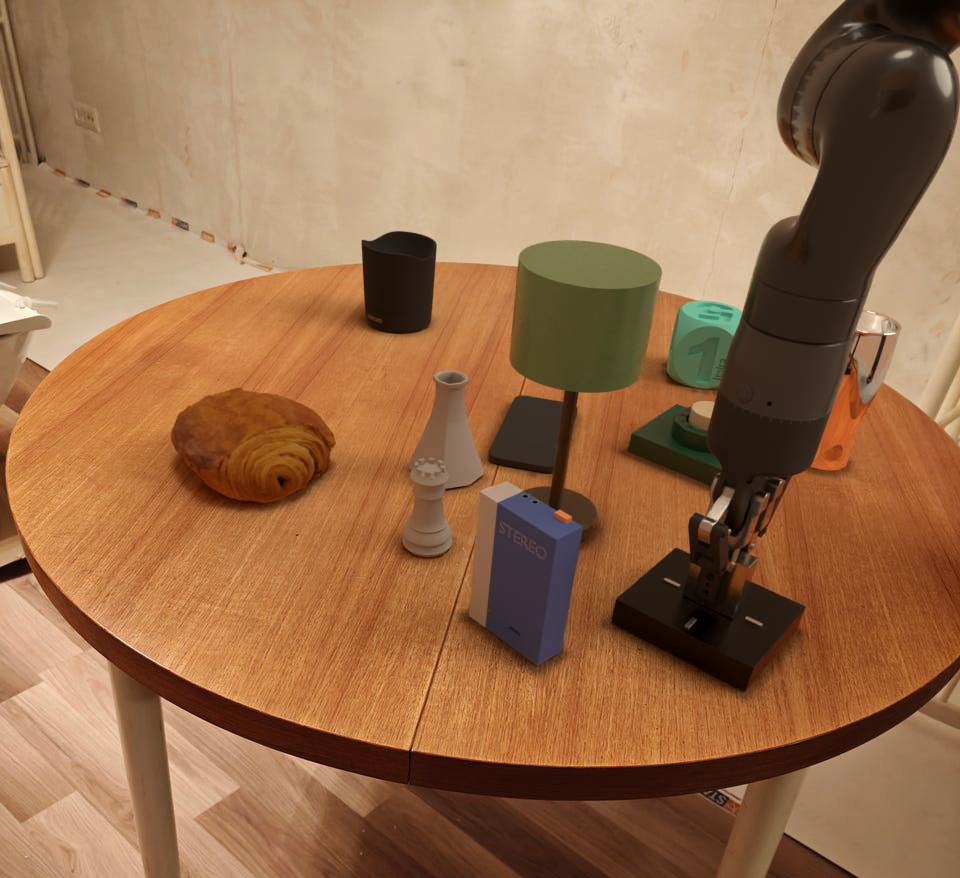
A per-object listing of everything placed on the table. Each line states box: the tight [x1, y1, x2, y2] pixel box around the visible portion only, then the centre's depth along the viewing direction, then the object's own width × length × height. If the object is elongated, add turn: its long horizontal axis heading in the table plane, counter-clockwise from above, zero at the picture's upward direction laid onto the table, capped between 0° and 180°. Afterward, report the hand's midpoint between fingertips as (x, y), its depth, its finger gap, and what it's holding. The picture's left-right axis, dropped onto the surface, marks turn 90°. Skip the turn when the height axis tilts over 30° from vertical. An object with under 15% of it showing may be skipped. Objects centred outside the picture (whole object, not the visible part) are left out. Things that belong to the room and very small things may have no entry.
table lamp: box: [508, 239, 663, 544], centre depth 75 cm, size 11×11×24 cm
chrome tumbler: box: [809, 309, 902, 472], centre depth 91 cm, size 7×7×15 cm
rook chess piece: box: [401, 458, 453, 558], centre depth 76 cm, size 4×4×8 cm
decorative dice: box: [666, 300, 743, 390], centre depth 108 cm, size 8×8×8 cm
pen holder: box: [360, 230, 438, 334], centre depth 114 cm, size 9×9×10 cm
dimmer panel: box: [610, 547, 807, 693], centre depth 72 cm, size 12×10×3 cm
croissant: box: [170, 387, 337, 504], centre depth 84 cm, size 14×16×8 cm
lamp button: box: [688, 400, 715, 431], centre depth 92 cm, size 4×4×2 cm
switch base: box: [627, 403, 722, 487], centre depth 93 cm, size 12×10×4 cm
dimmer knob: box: [682, 545, 760, 619], centre depth 69 cm, size 4×2×5 cm, turn 52°
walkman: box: [468, 480, 583, 667], centre depth 66 cm, size 8×3×12 cm, turn 43°
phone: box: [487, 394, 579, 474], centre depth 95 cm, size 7×1×15 cm
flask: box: [407, 369, 485, 490], centre depth 85 cm, size 7×7×10 cm
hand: (714, 594), depth 70 cm, fingers closed on dimmer knob, 2 cm apart
